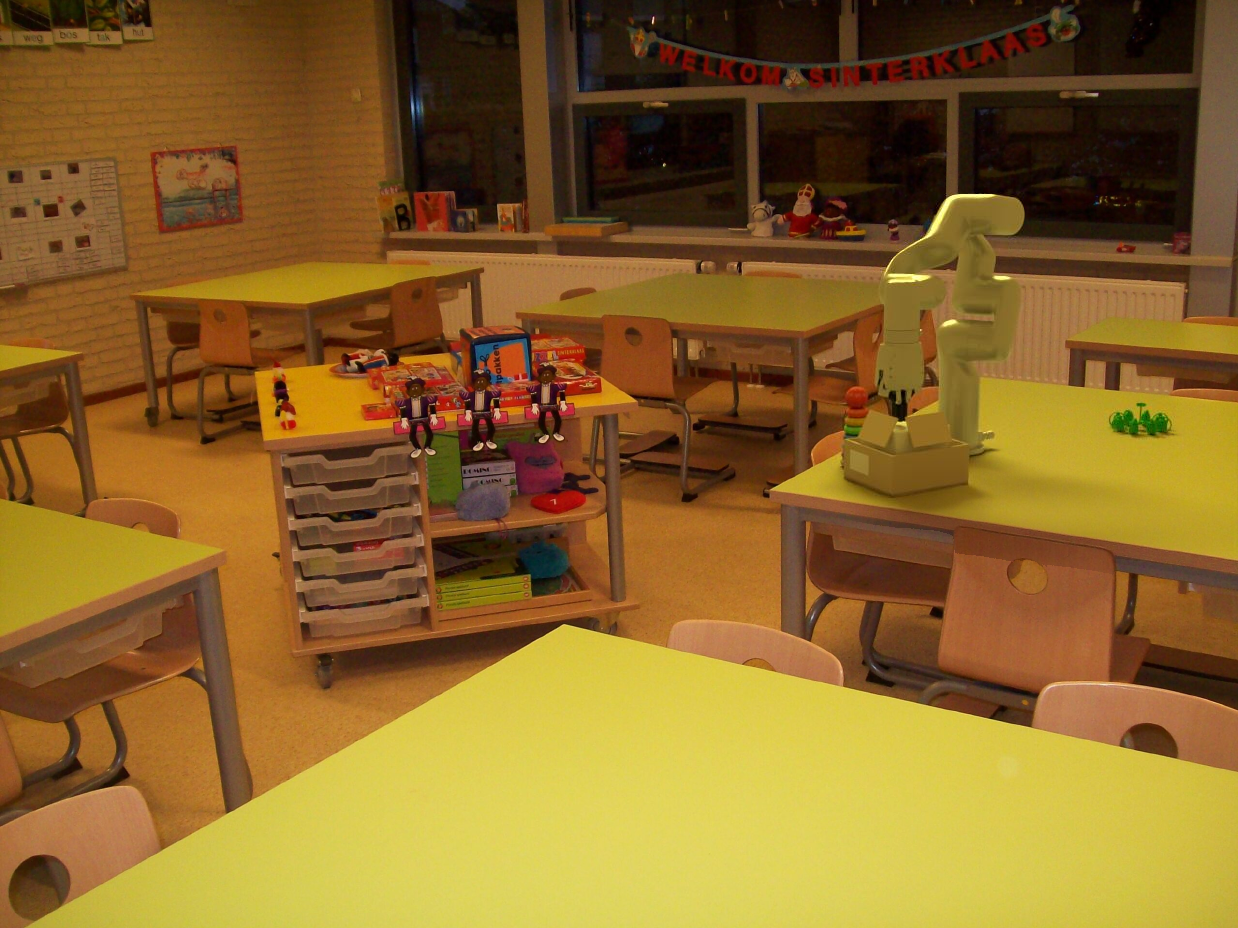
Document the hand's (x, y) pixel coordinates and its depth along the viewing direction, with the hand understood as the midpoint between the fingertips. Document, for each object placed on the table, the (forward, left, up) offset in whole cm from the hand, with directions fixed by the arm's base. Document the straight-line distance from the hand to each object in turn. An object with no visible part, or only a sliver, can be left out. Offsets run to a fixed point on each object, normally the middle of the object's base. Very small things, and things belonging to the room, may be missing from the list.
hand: (899, 420), depth 266 cm
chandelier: (-80, -9, -15) cm, 82 cm away
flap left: (-3, +6, -1) cm, 7 cm away
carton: (-2, 0, -14) cm, 14 cm away
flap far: (+5, 0, -1) cm, 6 cm away
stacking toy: (0, -16, -14) cm, 21 cm away
